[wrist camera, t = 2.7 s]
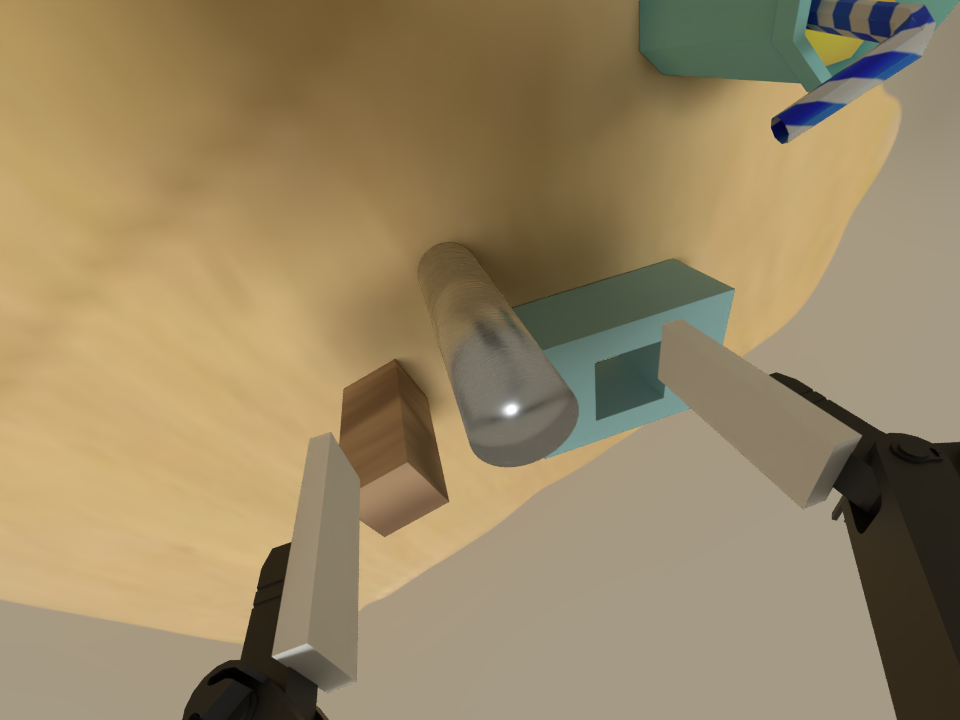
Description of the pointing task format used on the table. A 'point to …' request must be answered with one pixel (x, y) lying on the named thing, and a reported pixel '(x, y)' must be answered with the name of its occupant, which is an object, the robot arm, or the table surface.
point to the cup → (791, 45)
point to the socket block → (623, 342)
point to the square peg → (391, 449)
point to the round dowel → (494, 363)
